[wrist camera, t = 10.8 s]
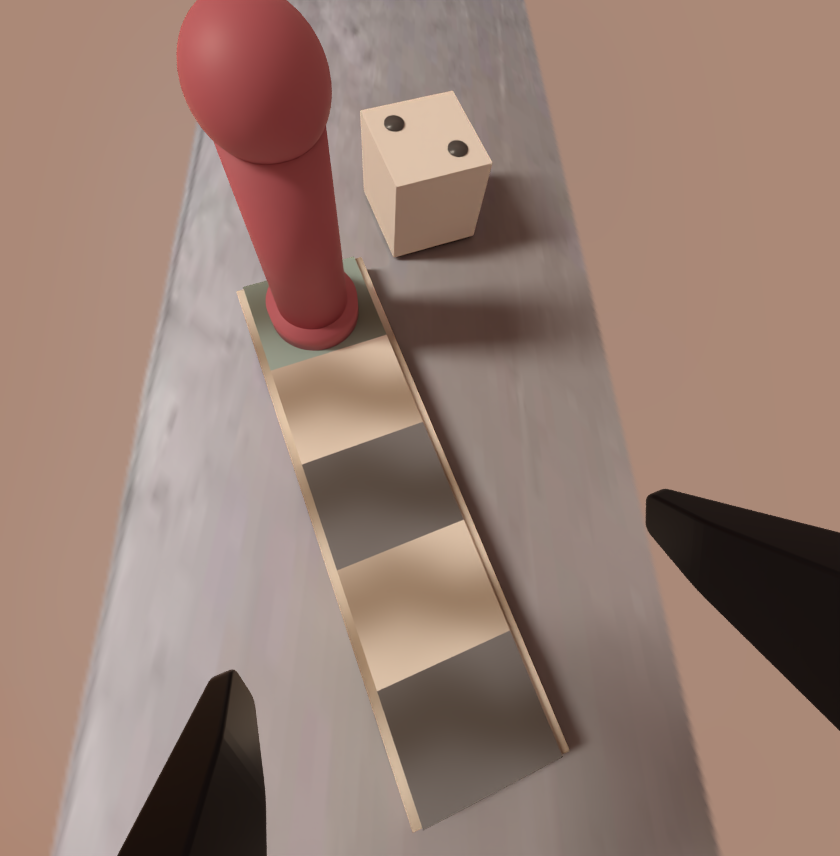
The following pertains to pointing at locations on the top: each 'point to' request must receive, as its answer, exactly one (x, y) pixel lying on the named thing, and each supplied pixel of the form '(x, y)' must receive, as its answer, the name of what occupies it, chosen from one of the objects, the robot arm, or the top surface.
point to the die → (423, 171)
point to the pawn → (274, 154)
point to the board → (406, 566)
